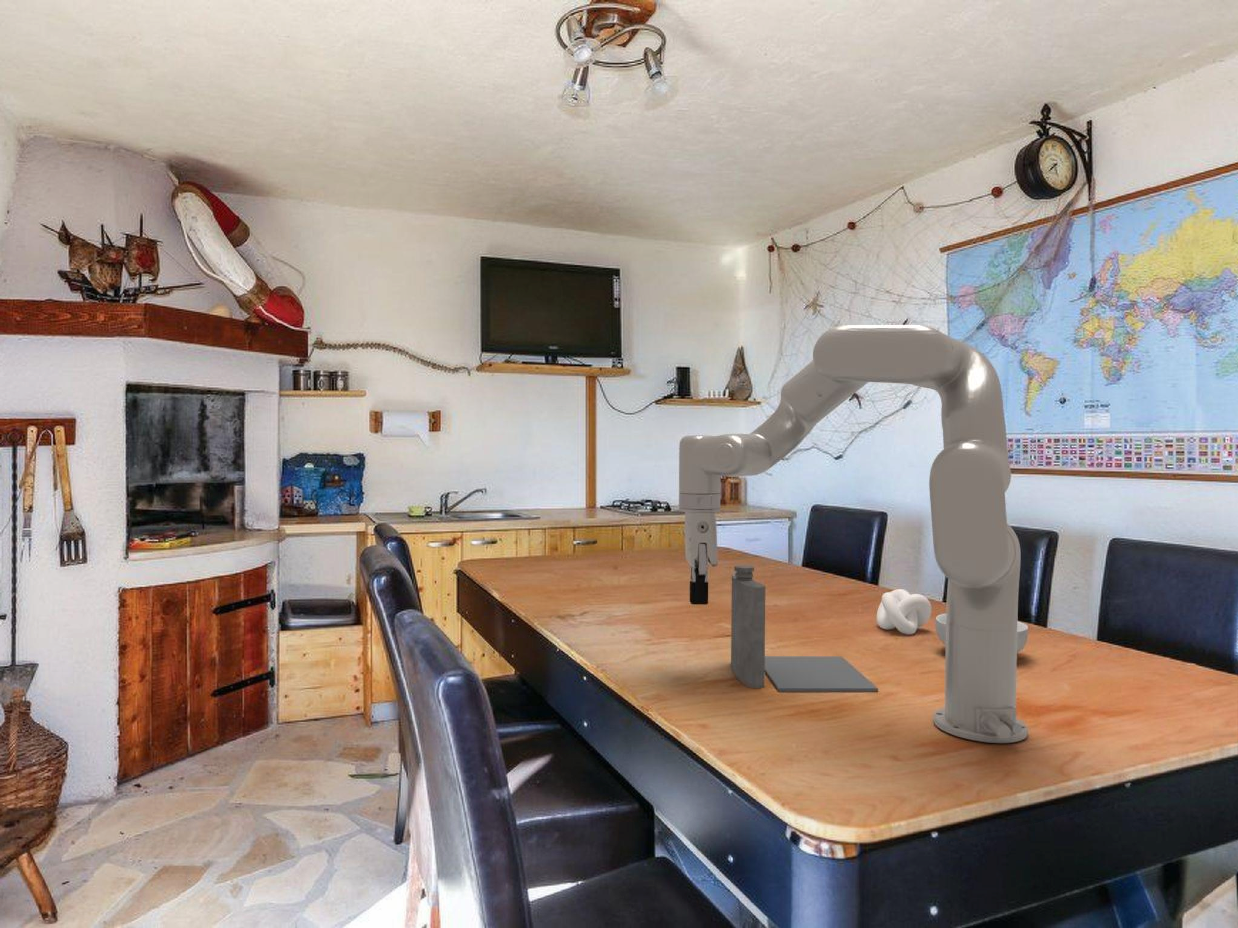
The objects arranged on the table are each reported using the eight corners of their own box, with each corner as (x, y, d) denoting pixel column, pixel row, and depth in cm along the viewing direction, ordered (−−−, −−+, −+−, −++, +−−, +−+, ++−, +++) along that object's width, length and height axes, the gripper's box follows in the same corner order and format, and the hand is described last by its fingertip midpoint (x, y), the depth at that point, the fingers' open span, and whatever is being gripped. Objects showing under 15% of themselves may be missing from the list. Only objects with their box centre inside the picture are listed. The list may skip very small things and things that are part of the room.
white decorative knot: (922, 625, 179) (923, 587, 179) (938, 638, 167) (939, 597, 167) (873, 624, 180) (873, 586, 180) (885, 636, 169) (886, 596, 168)
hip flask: (766, 687, 131) (767, 572, 131) (743, 688, 131) (744, 572, 131) (745, 662, 147) (746, 559, 147) (724, 662, 147) (725, 559, 147)
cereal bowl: (974, 670, 143) (975, 633, 143) (917, 648, 159) (917, 614, 159) (1048, 664, 147) (1048, 627, 147) (985, 643, 163) (985, 610, 163)
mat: (878, 691, 130) (878, 688, 130) (778, 691, 129) (778, 688, 129) (841, 659, 150) (841, 656, 150) (755, 659, 149) (755, 656, 149)
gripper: (726, 506, 131) (725, 612, 131) (714, 500, 146) (713, 595, 146) (683, 506, 131) (682, 612, 131) (675, 500, 146) (674, 595, 146)
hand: (698, 603), depth 139 cm, fingers closed
